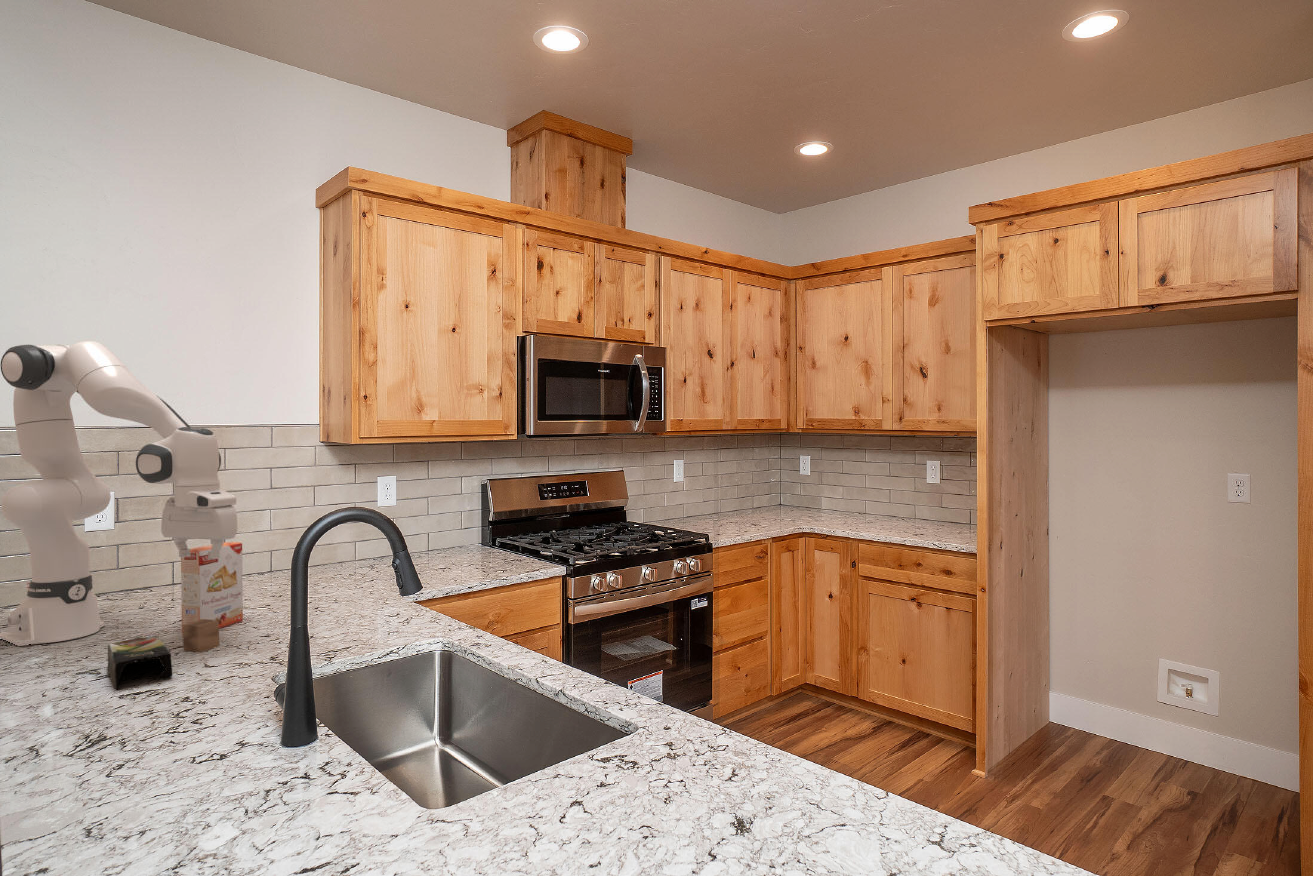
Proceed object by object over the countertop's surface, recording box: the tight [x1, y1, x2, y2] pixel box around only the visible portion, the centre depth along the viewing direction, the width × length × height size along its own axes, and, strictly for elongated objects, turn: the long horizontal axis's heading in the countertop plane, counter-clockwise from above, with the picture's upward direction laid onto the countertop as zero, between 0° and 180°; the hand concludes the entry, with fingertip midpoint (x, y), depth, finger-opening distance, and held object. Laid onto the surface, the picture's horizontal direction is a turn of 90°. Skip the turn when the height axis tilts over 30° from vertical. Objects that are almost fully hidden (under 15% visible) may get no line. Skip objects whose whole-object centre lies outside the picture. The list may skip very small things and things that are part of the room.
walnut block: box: [182, 619, 220, 653], centre depth 165 cm, size 5×5×6 cm
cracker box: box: [180, 541, 244, 635], centre depth 183 cm, size 14×6×21 cm, turn 168°
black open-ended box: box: [106, 635, 173, 691], centre depth 149 cm, size 20×10×6 cm, turn 41°
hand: (199, 558), depth 165 cm, fingers open, 8 cm apart
